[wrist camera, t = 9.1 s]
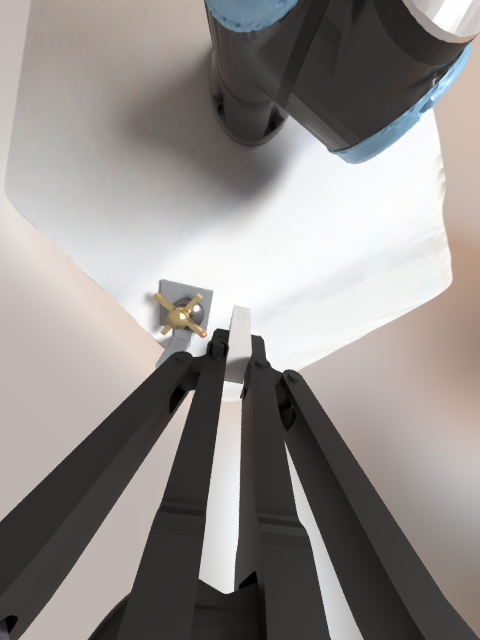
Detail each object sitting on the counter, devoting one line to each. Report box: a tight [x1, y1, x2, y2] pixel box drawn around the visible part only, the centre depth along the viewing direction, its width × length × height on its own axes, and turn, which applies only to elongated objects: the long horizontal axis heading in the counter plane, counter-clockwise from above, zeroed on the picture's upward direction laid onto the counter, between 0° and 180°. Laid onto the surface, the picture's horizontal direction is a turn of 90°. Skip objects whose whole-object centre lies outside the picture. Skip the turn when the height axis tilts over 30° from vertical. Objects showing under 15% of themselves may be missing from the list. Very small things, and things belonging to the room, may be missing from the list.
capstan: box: [153, 292, 207, 338], centre depth 48 cm, size 17×16×7 cm
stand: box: [156, 279, 213, 369], centre depth 48 cm, size 20×14×14 cm
